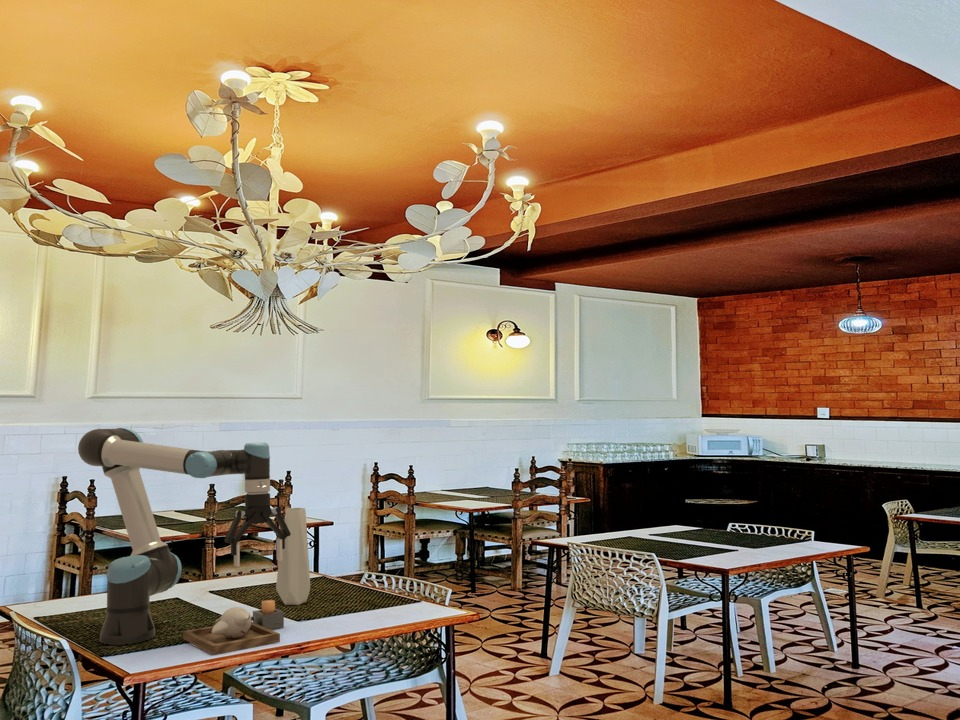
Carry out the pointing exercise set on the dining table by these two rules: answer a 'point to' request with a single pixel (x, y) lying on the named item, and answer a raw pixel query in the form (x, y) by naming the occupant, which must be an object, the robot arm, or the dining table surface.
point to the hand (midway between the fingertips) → (258, 563)
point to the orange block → (268, 606)
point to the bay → (230, 639)
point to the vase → (294, 560)
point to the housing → (269, 619)
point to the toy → (233, 623)
